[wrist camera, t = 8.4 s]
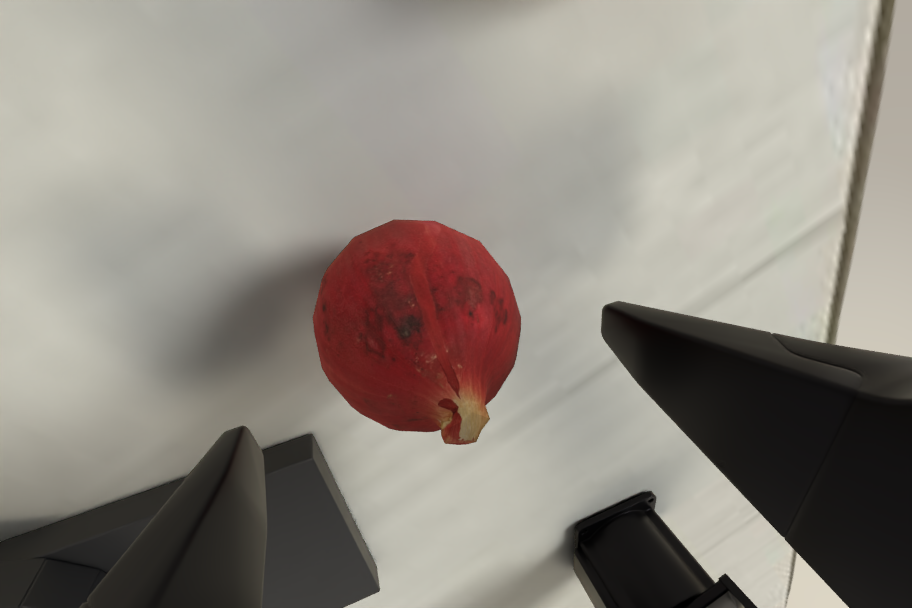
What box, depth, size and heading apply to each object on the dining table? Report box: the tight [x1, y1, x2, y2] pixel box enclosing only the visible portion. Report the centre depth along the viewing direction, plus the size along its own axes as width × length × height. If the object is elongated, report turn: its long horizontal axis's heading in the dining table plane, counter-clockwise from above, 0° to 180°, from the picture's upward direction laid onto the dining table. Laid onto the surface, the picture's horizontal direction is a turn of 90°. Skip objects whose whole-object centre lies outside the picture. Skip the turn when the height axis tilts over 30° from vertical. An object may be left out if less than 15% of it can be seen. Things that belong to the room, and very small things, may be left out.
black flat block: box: [0, 434, 380, 608], centre depth 16 cm, size 15×12×3 cm
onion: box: [313, 220, 521, 445], centre depth 11 cm, size 6×6×8 cm
